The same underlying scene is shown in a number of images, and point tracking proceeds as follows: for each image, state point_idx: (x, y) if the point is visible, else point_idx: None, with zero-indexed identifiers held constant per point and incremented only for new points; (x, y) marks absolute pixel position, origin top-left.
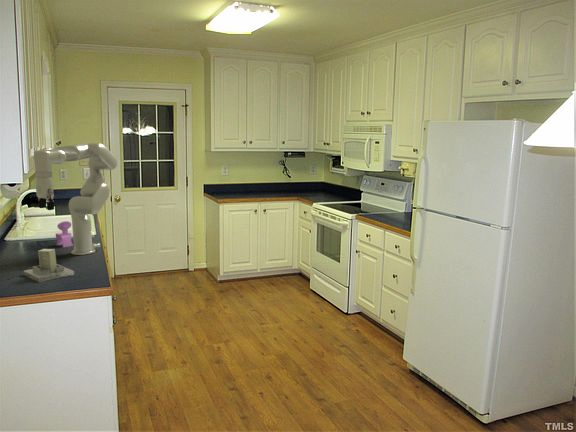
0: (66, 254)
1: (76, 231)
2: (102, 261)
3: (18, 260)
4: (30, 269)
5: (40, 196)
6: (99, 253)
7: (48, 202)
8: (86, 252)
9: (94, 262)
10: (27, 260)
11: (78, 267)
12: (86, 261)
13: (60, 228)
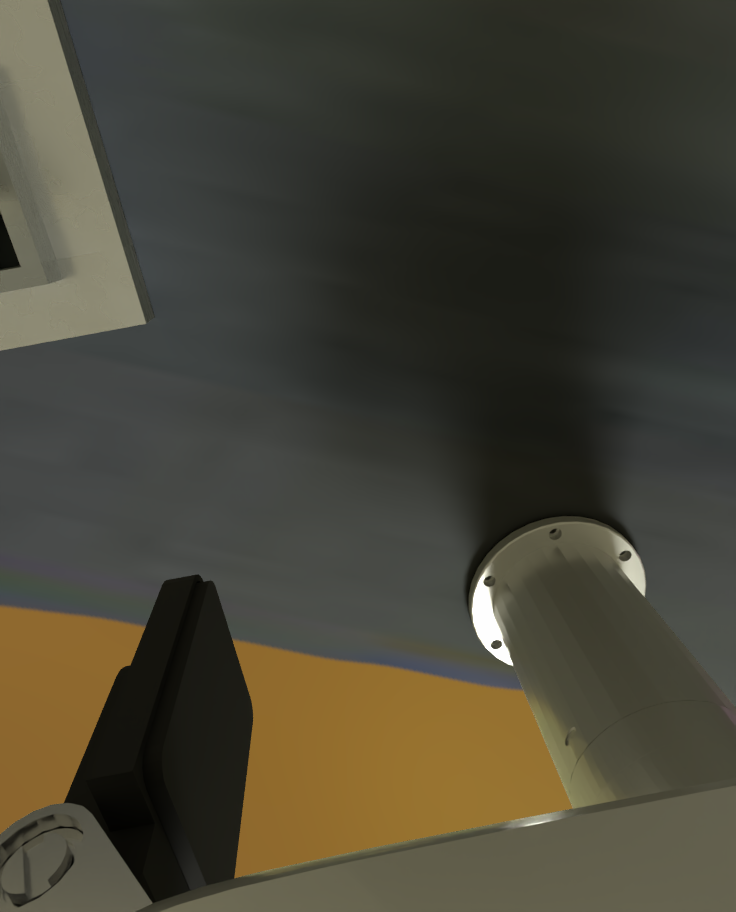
0: (587, 481)
1: (594, 680)
2: None
3: (683, 80)
4: (57, 54)
5: (606, 888)
6: (443, 666)
7: (107, 813)
8: (473, 604)
9: None
10: (618, 156)
11: (87, 457)
12: (252, 546)
13: None
